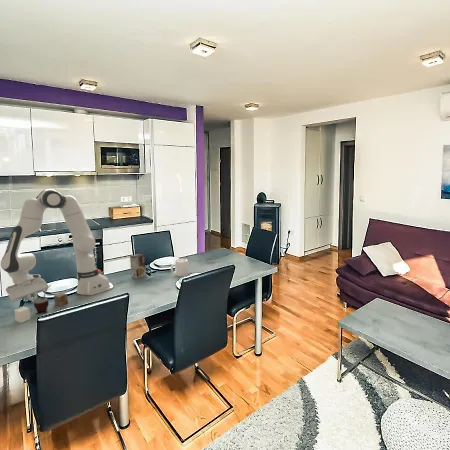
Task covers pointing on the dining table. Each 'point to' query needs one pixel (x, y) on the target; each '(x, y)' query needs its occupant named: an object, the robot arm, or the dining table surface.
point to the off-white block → (22, 314)
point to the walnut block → (60, 299)
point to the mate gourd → (41, 303)
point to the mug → (180, 267)
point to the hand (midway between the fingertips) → (35, 300)
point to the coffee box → (138, 265)
